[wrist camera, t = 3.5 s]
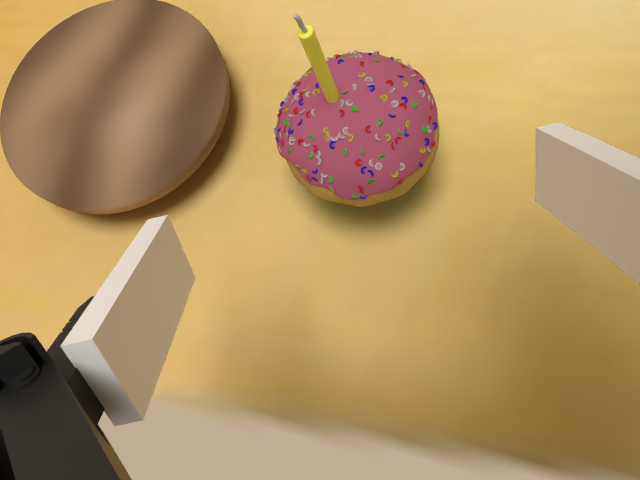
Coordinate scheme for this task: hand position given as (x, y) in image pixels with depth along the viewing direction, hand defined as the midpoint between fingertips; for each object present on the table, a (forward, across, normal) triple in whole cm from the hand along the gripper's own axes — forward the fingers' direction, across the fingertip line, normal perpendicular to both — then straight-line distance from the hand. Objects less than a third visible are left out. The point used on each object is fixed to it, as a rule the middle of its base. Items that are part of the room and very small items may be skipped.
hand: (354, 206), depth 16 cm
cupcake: (+12, +1, -3) cm, 13 cm away
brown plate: (+17, -13, +2) cm, 22 cm away
